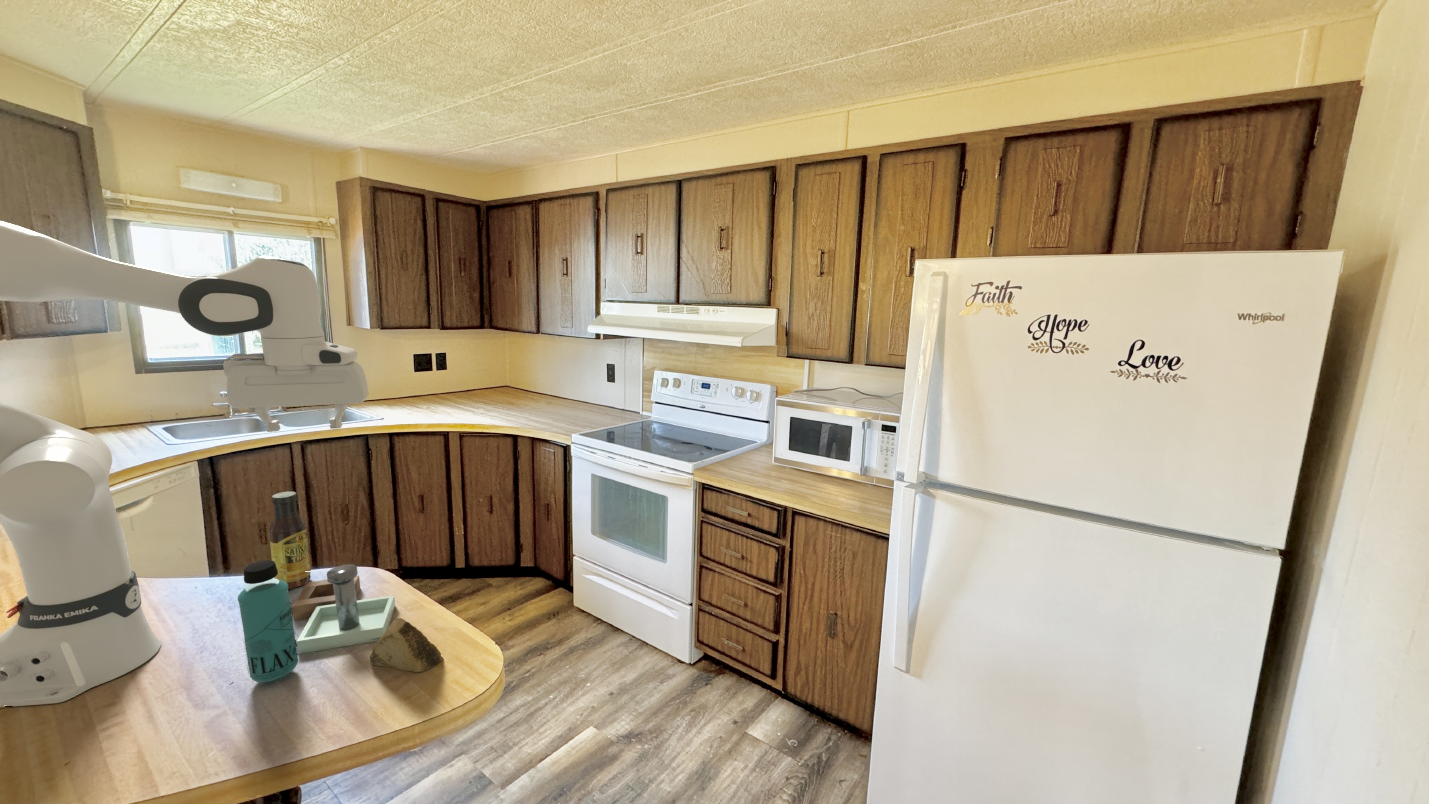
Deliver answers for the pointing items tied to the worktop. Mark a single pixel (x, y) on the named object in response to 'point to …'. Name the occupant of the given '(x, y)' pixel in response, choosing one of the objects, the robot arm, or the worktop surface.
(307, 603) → the collar
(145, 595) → the worktop surface
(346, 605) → the pin
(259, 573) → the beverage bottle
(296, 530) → the sauce bottle
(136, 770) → the worktop surface
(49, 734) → the worktop surface
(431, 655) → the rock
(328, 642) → the dish
